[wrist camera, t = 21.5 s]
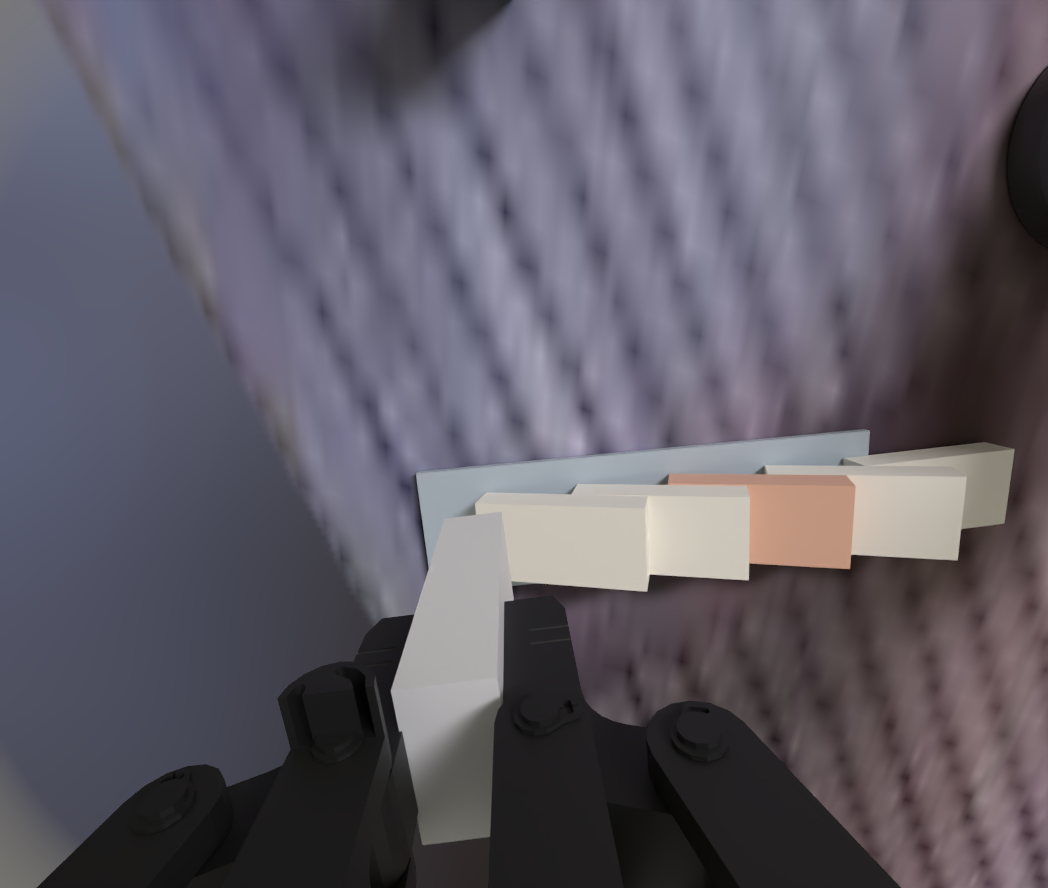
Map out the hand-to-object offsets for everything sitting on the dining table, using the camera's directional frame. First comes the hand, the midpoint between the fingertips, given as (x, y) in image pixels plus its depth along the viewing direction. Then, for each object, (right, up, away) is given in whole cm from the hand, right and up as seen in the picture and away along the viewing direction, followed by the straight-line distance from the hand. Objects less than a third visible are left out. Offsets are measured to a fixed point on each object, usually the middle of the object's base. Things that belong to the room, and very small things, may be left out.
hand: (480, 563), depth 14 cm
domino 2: (+12, -2, +27) cm, 29 cm away
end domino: (-2, -4, +26) cm, 27 cm away
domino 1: (+5, -3, +26) cm, 27 cm away
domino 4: (+26, -1, +27) cm, 38 cm away
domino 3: (+20, -2, +27) cm, 33 cm away
